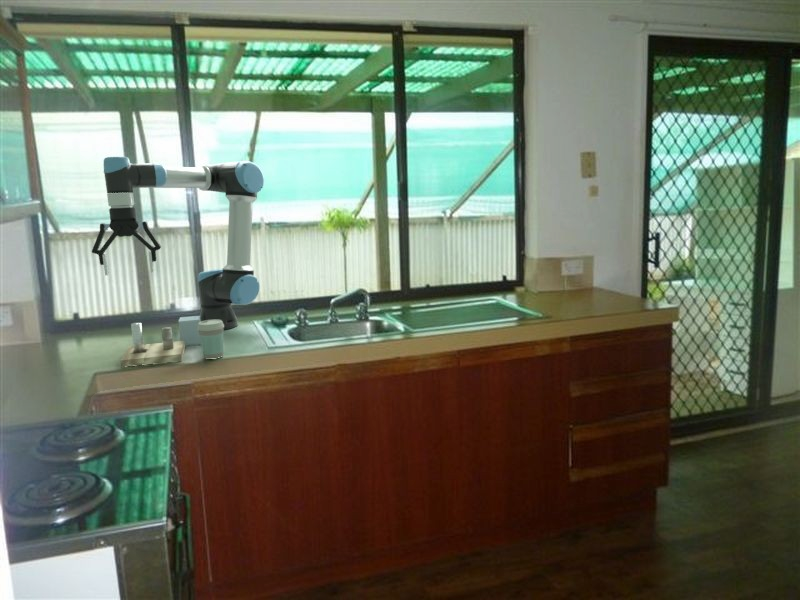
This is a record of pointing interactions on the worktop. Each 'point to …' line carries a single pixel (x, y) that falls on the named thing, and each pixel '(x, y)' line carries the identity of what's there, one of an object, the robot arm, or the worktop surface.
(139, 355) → the board
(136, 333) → the peg
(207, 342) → the coffee cup
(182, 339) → the block
